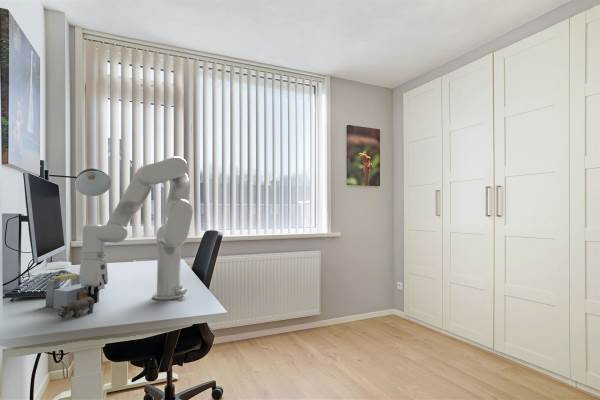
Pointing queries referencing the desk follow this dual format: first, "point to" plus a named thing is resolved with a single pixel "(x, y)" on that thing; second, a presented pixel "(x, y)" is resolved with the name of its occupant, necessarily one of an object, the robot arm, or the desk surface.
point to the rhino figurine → (77, 307)
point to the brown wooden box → (81, 295)
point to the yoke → (53, 285)
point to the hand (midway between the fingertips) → (92, 303)
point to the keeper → (65, 277)
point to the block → (67, 295)
